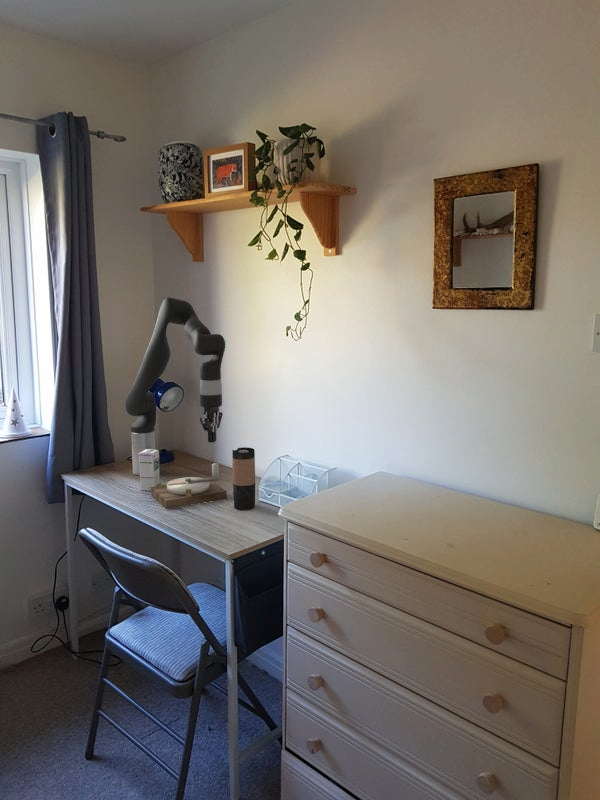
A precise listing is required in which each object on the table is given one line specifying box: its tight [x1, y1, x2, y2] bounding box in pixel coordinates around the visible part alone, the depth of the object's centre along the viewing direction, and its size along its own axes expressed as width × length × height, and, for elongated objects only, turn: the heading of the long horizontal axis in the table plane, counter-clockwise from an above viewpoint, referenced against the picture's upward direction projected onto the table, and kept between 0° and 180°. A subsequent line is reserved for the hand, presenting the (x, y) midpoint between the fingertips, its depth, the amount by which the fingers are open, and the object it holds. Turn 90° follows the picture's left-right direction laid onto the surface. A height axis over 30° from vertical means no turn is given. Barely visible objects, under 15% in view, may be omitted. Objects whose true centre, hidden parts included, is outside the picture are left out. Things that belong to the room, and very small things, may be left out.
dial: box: [166, 462, 220, 495], centre depth 229 cm, size 19×15×8 cm
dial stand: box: [150, 481, 228, 510], centre depth 229 cm, size 18×22×5 cm
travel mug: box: [231, 446, 256, 511], centre depth 217 cm, size 8×8×20 cm
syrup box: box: [138, 448, 162, 492], centre depth 239 cm, size 6×6×14 cm
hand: (212, 441), depth 223 cm, fingers closed
